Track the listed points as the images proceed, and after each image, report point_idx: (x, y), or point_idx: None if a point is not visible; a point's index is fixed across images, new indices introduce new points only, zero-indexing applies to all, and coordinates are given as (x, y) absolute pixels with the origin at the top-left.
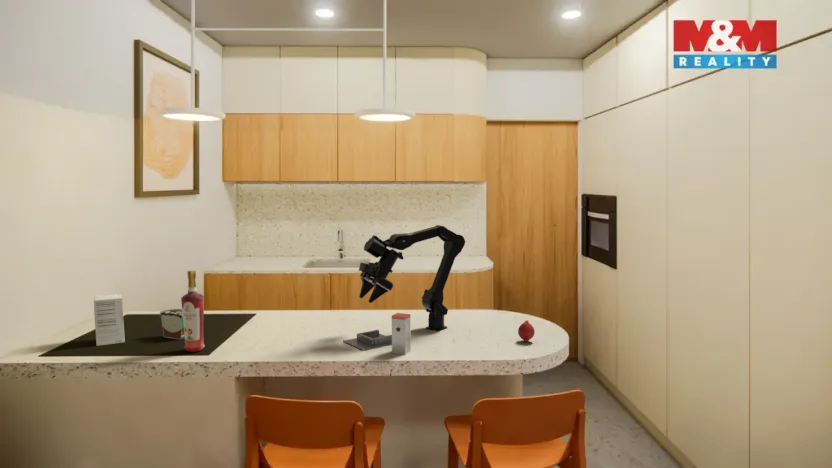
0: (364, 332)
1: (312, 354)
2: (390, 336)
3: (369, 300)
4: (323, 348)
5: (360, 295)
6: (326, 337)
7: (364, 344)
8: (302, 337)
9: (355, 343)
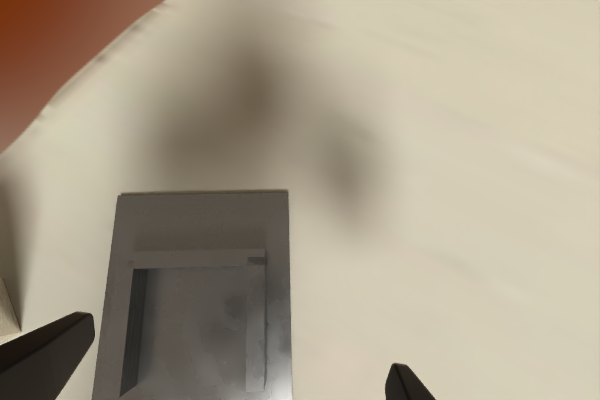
0: (259, 294)
1: (217, 39)
2: (104, 375)
3: (60, 320)
4: (256, 95)
5: (400, 383)
6: (391, 171)
7: (176, 238)
8: (443, 99)
9: (217, 214)
